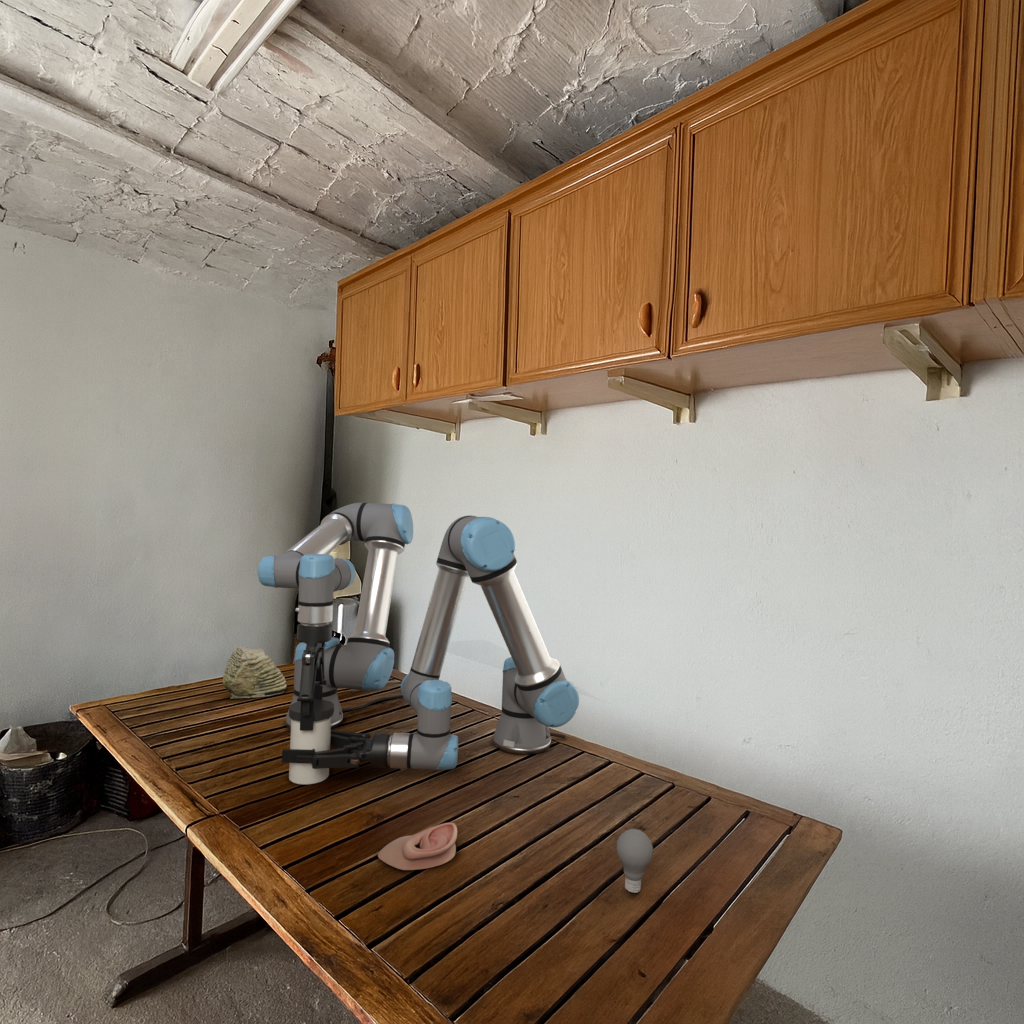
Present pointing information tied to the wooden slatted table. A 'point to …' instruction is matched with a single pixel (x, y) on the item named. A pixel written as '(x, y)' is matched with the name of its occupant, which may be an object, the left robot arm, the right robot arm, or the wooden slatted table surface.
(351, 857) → the wooden slatted table surface
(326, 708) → the lid
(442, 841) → the anatomical model
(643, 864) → the light bulb
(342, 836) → the wooden slatted table surface
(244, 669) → the fossil
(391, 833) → the wooden slatted table surface
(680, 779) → the wooden slatted table surface
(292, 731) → the jar
